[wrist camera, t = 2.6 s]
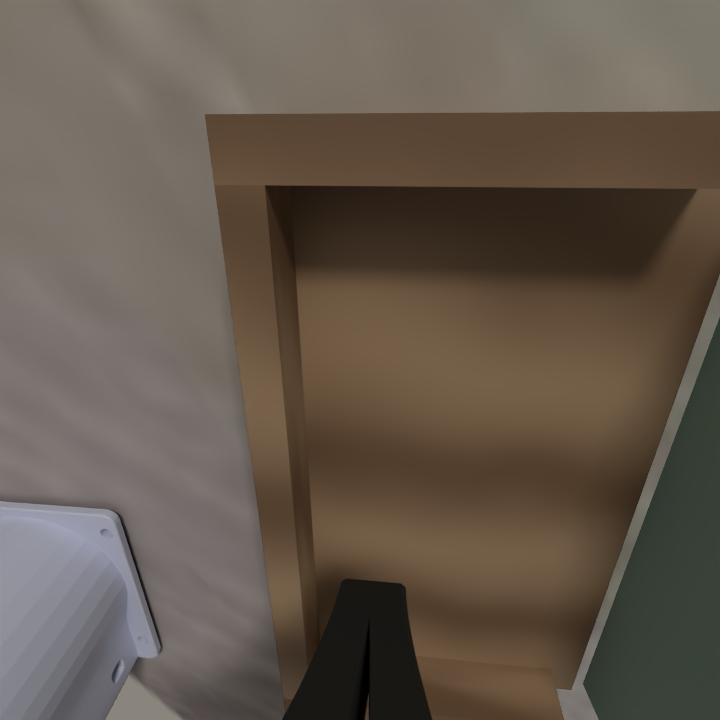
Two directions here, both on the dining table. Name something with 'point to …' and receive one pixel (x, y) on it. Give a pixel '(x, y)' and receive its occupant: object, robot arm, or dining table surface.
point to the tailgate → (671, 583)
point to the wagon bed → (461, 368)
